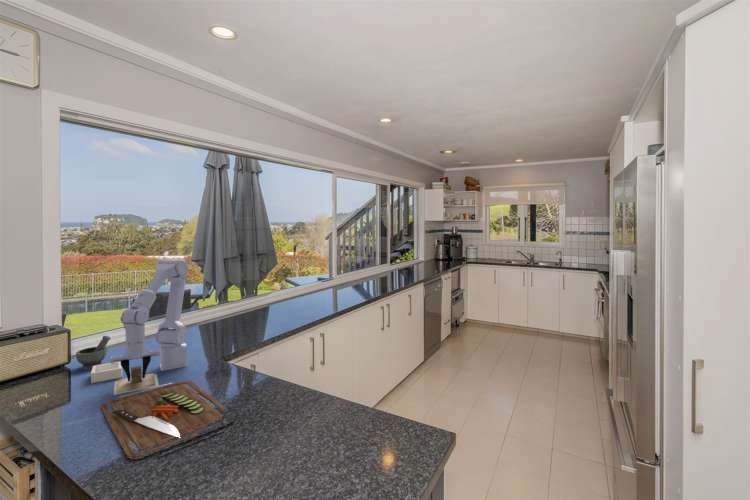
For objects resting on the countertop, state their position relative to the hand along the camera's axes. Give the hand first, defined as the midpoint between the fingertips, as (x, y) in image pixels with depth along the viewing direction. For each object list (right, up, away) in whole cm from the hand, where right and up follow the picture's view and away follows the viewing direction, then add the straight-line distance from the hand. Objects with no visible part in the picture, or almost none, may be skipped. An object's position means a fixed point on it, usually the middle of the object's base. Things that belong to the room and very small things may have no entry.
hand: (136, 378), depth 128 cm
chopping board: (+23, -4, -20) cm, 31 cm away
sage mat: (0, -2, 0) cm, 2 cm away
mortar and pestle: (-29, -2, +18) cm, 34 cm away
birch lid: (0, -2, 0) cm, 2 cm away
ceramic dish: (-15, -2, +7) cm, 17 cm away
